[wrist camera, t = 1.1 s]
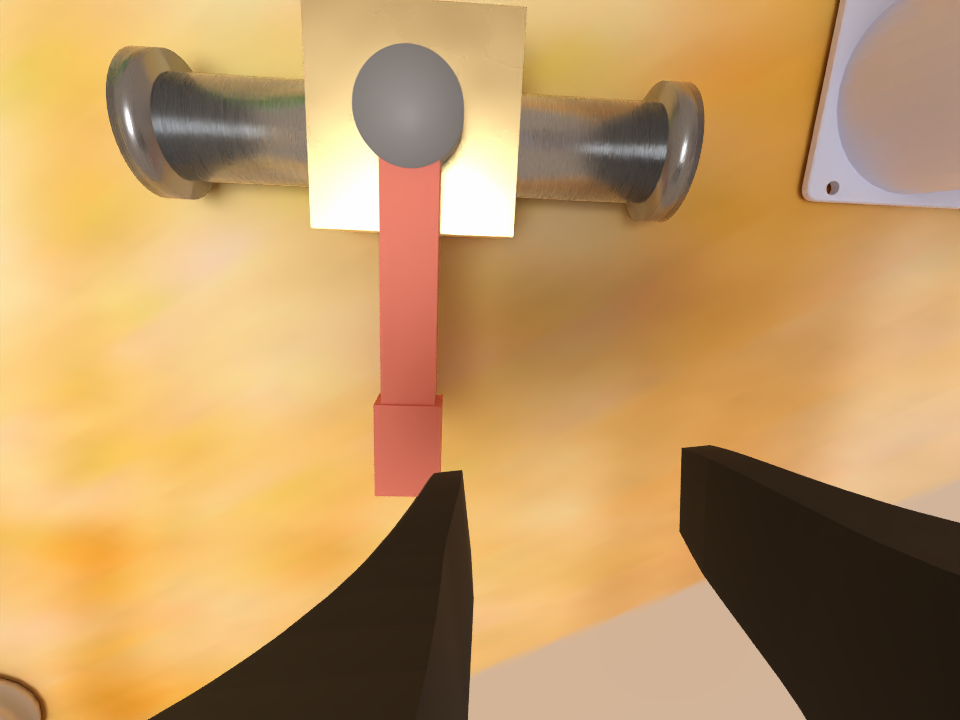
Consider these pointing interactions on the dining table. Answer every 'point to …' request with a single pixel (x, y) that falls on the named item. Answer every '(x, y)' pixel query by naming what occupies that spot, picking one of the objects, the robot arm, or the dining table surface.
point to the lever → (408, 250)
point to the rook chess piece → (17, 702)
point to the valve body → (354, 166)
